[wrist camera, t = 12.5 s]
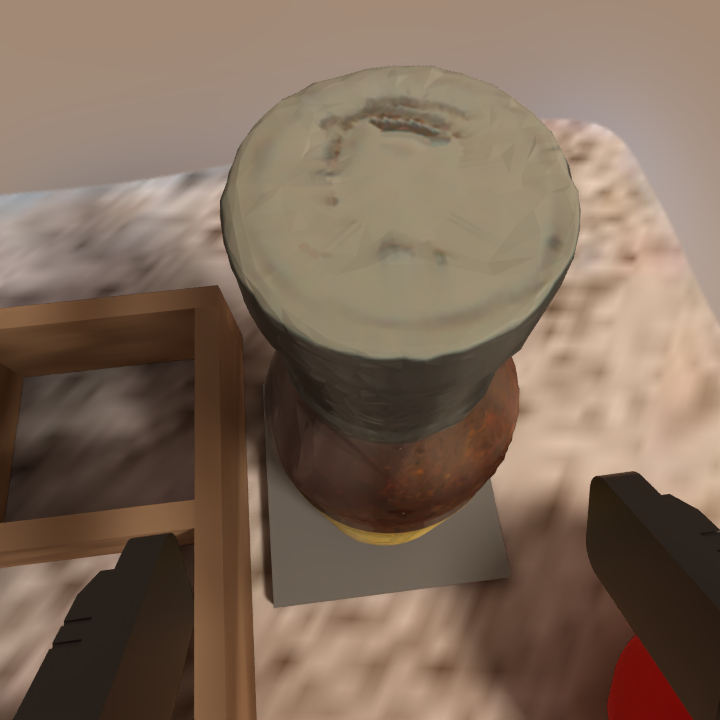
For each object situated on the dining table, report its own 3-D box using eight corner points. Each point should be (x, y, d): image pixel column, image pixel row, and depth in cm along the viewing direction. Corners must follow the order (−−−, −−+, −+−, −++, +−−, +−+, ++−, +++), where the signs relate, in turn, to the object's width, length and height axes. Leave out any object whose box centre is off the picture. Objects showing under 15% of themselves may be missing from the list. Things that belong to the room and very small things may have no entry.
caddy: (-70, 863, 20) (-203, 947, 15) (5, 361, 27) (-67, 315, 23) (260, 816, 20) (228, 883, 15) (242, 335, 28) (218, 285, 23)
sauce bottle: (377, 384, 26) (401, -92, 8) (480, 471, 24) (825, 128, 6) (280, 486, 24) (11, 180, 6) (385, 588, 23) (463, 601, 4)
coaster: (276, 607, 23) (273, 607, 22) (264, 387, 27) (262, 383, 26) (507, 577, 23) (511, 577, 23) (463, 364, 27) (465, 360, 27)
